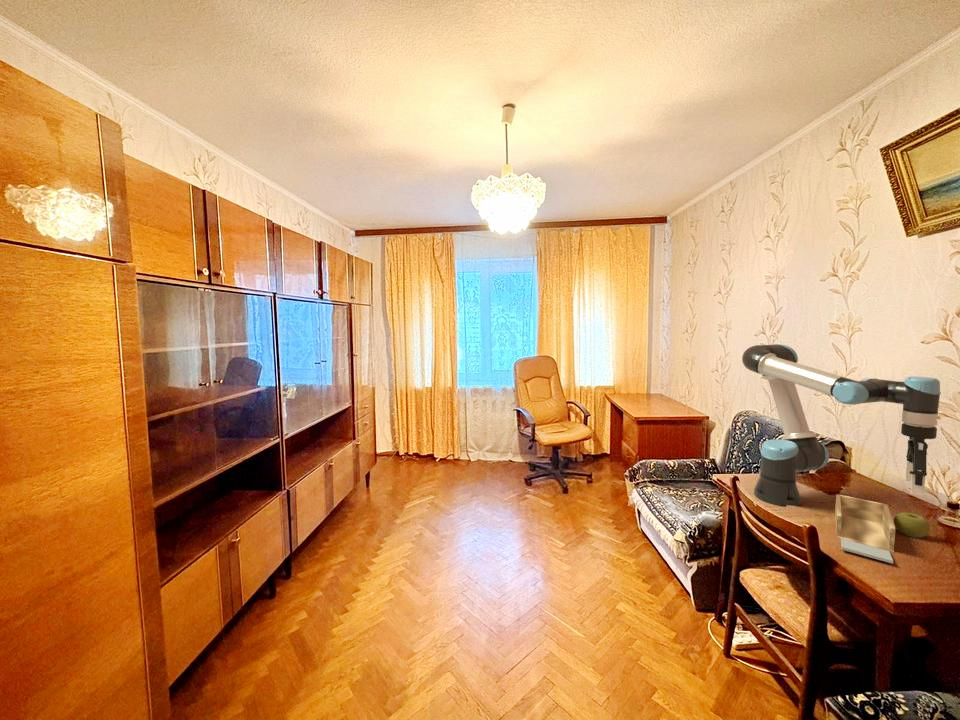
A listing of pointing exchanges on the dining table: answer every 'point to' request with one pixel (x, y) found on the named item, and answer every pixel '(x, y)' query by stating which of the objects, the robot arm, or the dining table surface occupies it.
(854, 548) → the pale blue panel
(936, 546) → the dining table surface
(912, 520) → the apple
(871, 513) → the crate
